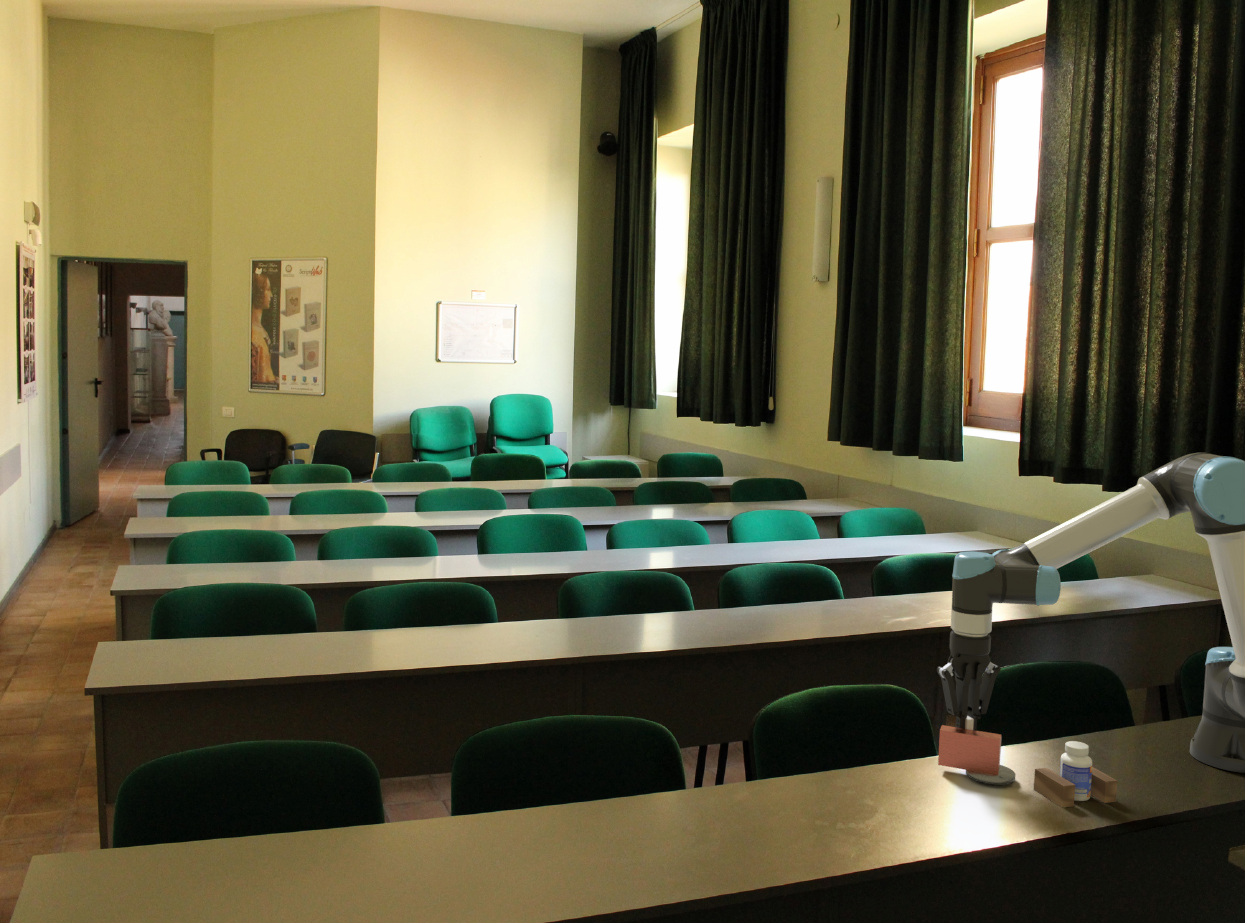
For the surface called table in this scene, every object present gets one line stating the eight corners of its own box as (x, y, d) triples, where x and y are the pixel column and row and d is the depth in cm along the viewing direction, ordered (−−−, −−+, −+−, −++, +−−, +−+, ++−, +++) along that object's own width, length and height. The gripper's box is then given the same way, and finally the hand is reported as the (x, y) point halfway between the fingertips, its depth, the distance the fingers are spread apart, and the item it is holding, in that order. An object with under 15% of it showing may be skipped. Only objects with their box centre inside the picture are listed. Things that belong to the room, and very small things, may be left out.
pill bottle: (1095, 802, 188) (1098, 750, 187) (1065, 801, 188) (1068, 749, 187) (1082, 789, 193) (1086, 739, 192) (1053, 789, 193) (1056, 738, 192)
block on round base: (942, 758, 205) (944, 720, 205) (1017, 771, 200) (1019, 732, 199) (935, 774, 197) (937, 734, 197) (1013, 788, 191) (1015, 747, 191)
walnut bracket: (1085, 784, 196) (1087, 763, 196) (1115, 801, 188) (1117, 780, 188) (1033, 789, 193) (1034, 768, 193) (1062, 807, 185) (1063, 786, 185)
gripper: (988, 625, 205) (982, 739, 208) (930, 628, 202) (925, 744, 204) (1011, 634, 198) (1005, 753, 201) (952, 638, 195) (946, 759, 197)
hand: (965, 748), depth 202 cm, fingers closed
